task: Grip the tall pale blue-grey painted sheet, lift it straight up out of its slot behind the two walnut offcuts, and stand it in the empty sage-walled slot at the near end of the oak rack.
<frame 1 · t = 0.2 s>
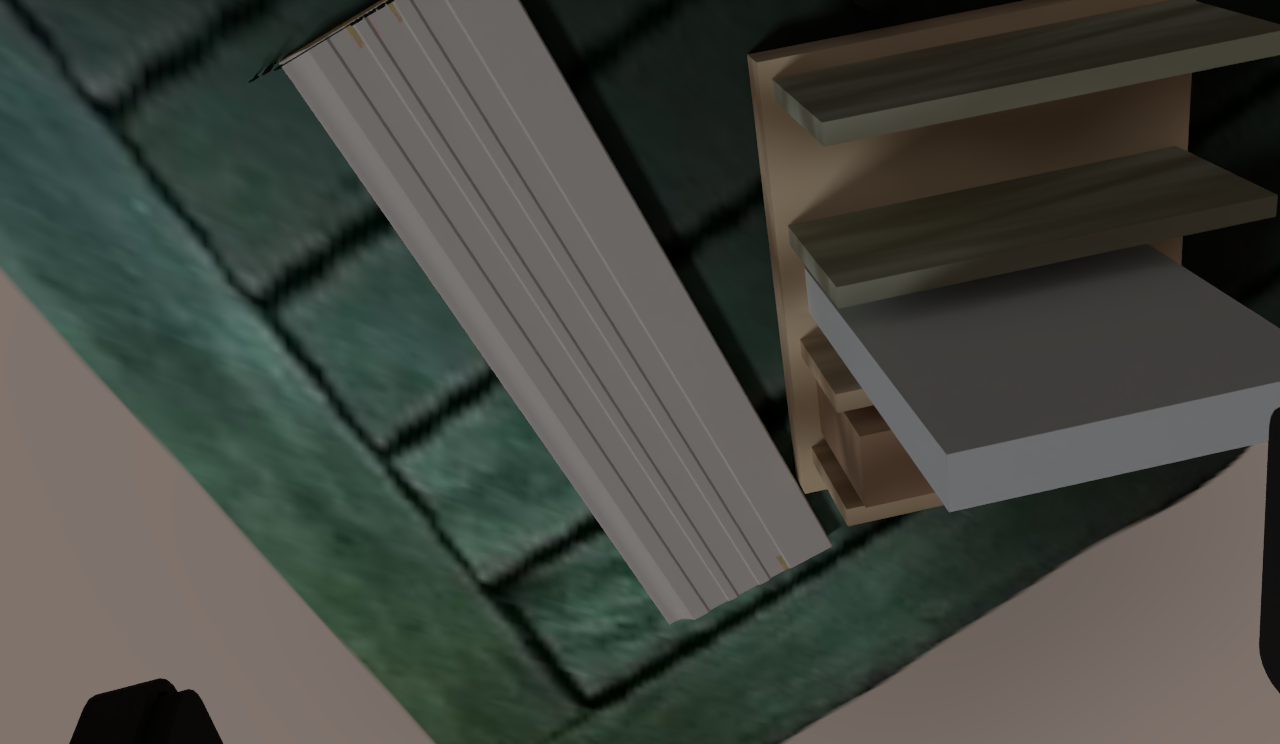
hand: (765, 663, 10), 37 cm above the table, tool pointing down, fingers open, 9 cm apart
baseboard: (572, 329, 49), on the table
rack: (971, 242, 50), on the table
offcut 1: (886, 385, 50), point 1 cm above the table, touching rack
sheet: (950, 260, 48), point 1 cm above the table, touching rack
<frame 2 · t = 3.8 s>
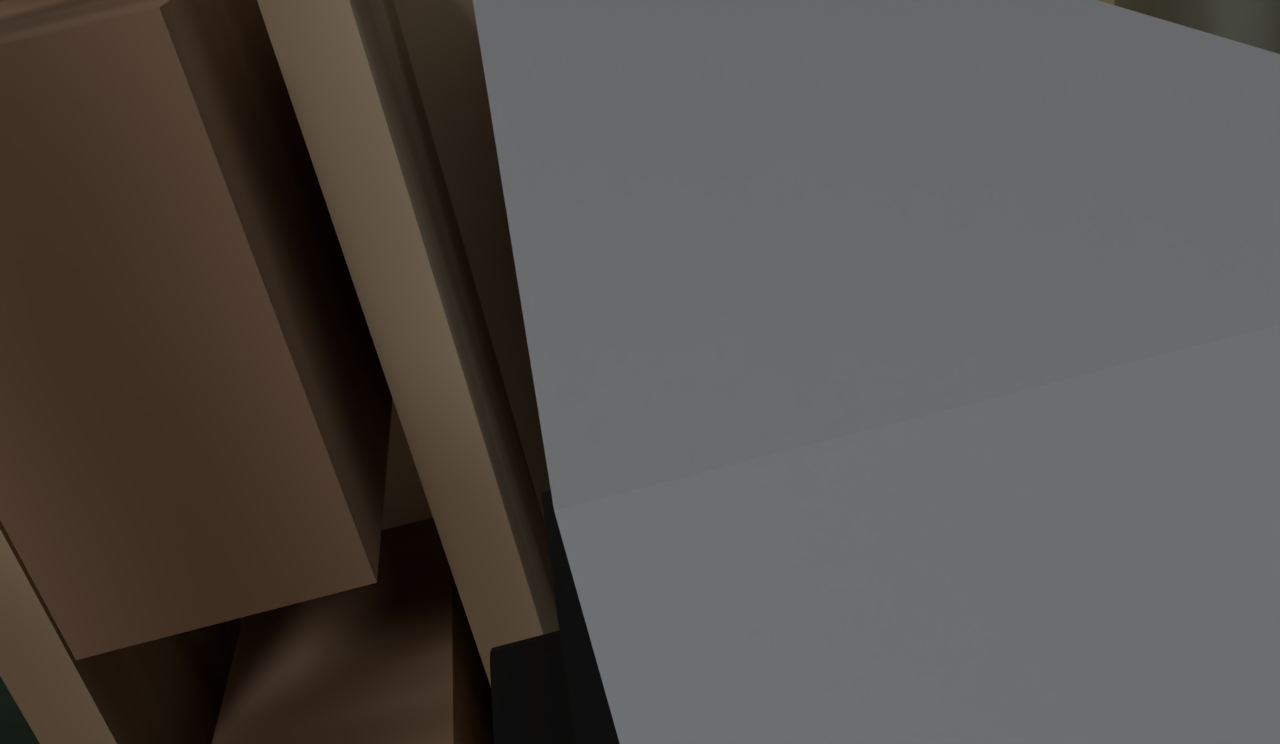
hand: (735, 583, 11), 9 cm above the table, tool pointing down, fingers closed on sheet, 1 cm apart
rack: (623, 342, 20), on the table
offcut 1: (220, 187, 16), point 1 cm above the table, touching rack
sheet: (626, 293, 18), point 2 cm above the table, touching gripper
offcut 2: (407, 678, 20), point 1 cm above the table, touching rack
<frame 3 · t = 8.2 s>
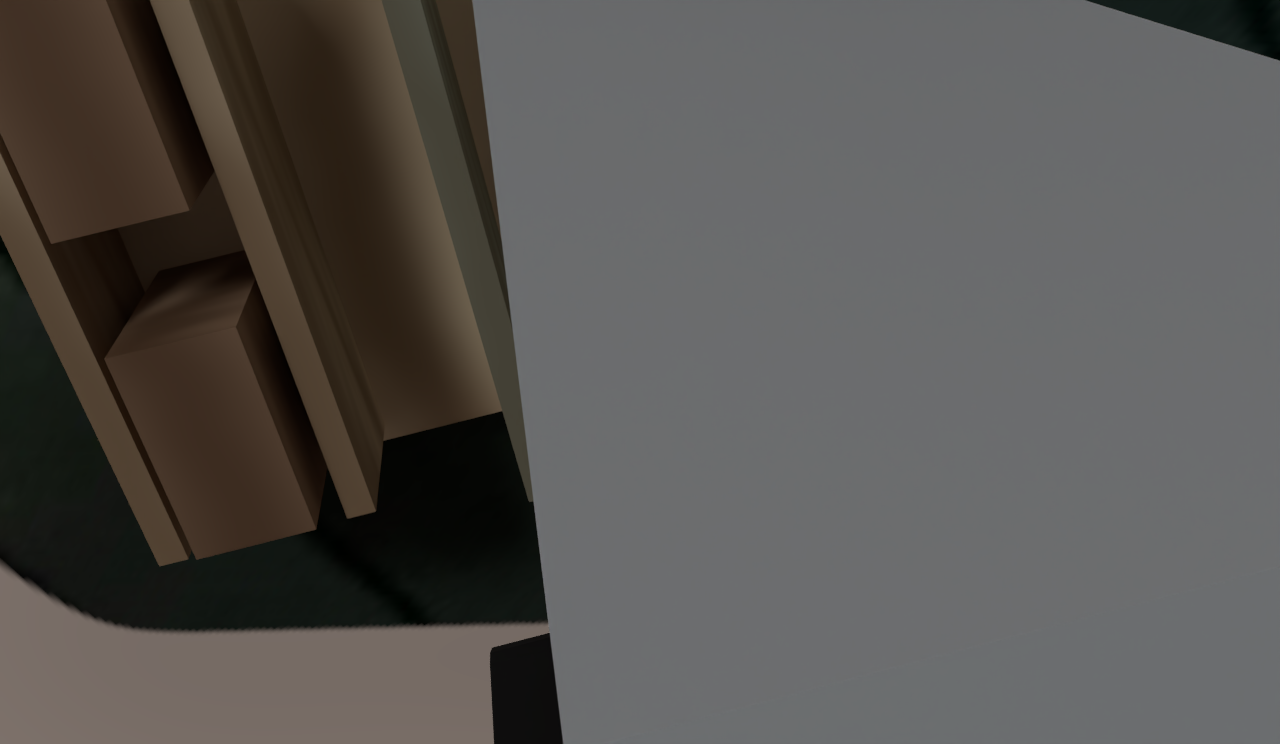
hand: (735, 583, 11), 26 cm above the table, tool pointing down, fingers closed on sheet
rack: (373, 152, 35), on the table
offcut 1: (131, 48, 31), point 1 cm above the table, touching rack
sheet: (633, 304, 17), point 19 cm above the table, touching gripper
offcut 2: (250, 350, 35), point 1 cm above the table, touching rack
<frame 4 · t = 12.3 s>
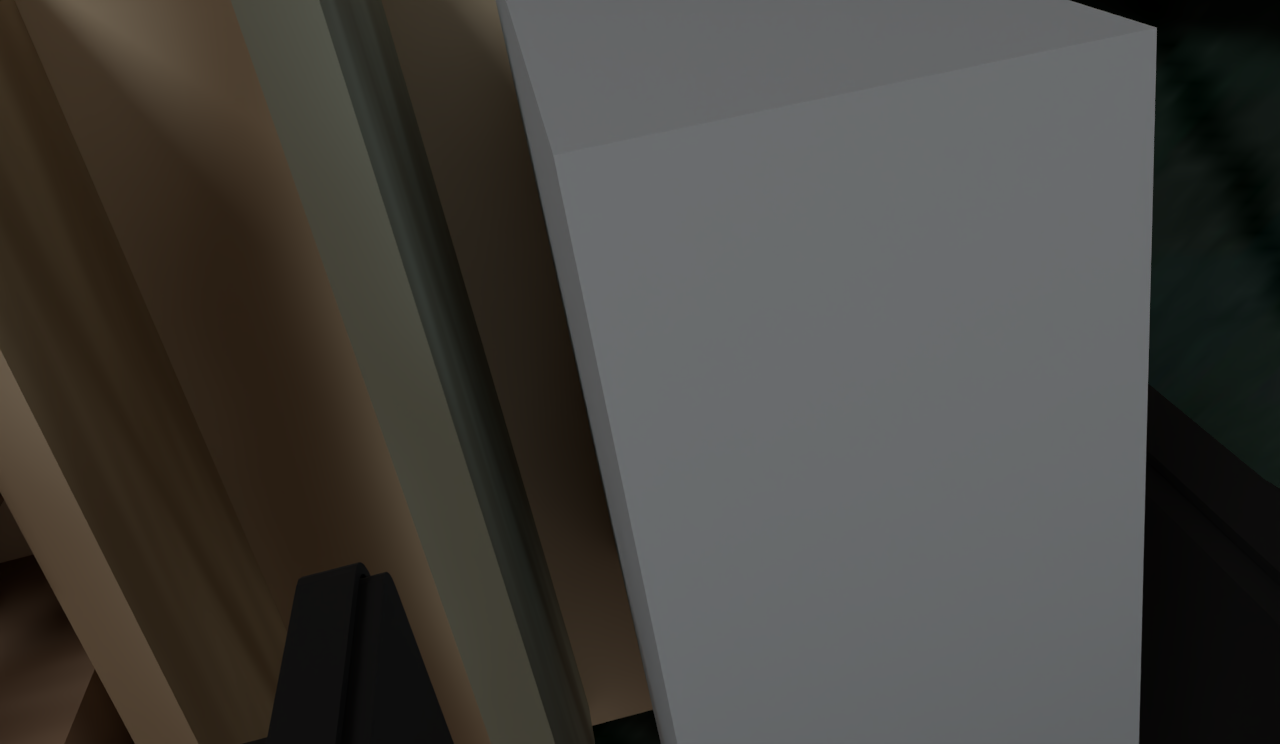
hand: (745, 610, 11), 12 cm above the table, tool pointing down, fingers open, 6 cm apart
rack: (324, 366, 22), on the table
sheet: (611, 250, 20), point 1 cm above the table, touching rack
offcut 2: (130, 676, 22), point 1 cm above the table, touching rack
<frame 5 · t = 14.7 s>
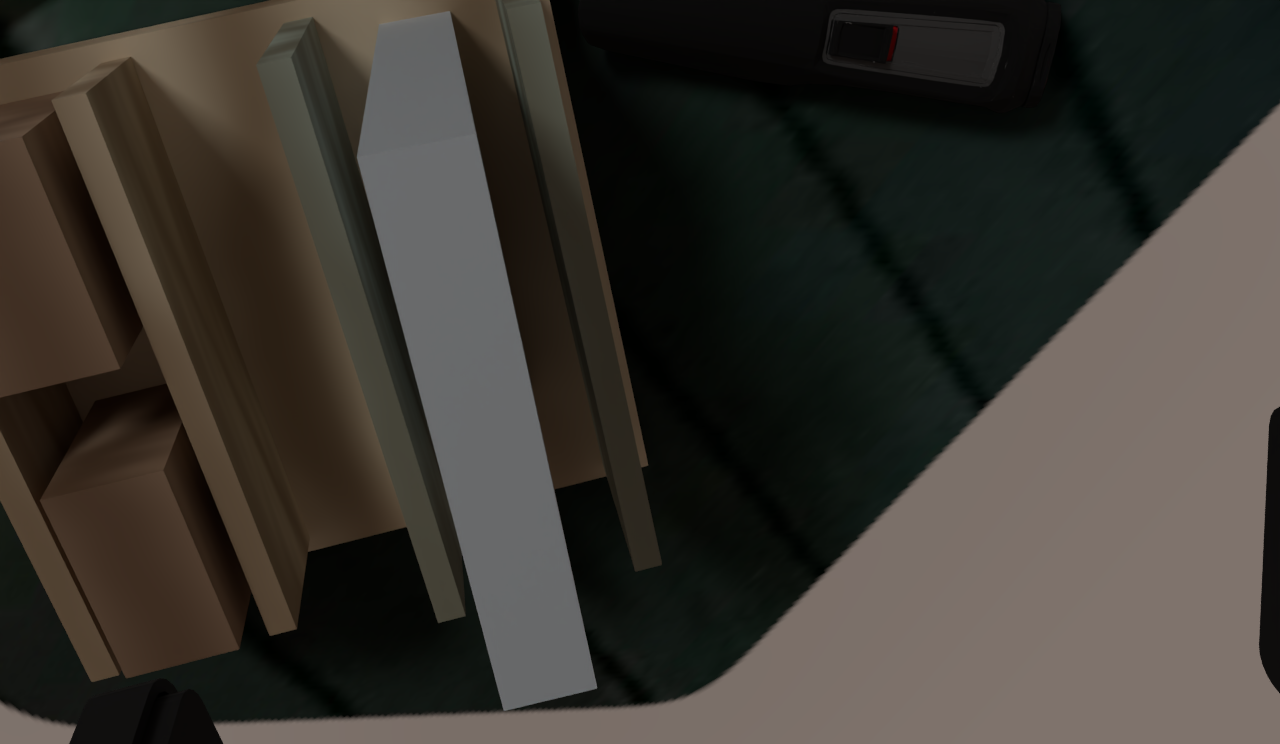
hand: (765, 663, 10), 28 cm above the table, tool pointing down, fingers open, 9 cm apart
rack: (298, 288, 37), on the table
offcut 1: (70, 202, 34), point 1 cm above the table, touching rack
sheet: (461, 220, 36), point 1 cm above the table, touching rack
offcut 2: (182, 471, 38), point 1 cm above the table, touching rack
electric trimmer: (820, 31, 37), on the table
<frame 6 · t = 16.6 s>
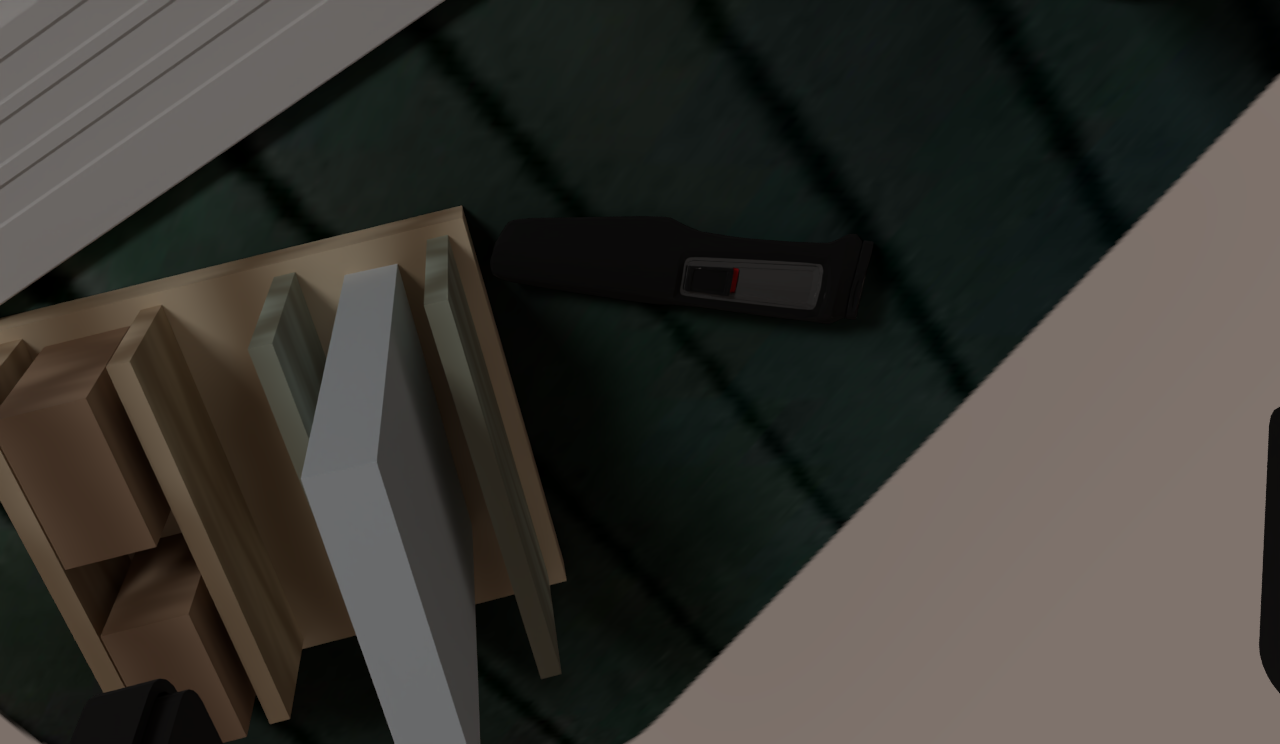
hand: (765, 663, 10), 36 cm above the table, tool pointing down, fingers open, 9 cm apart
baseboard: (96, 53, 42), on the table
rack: (291, 453, 49), on the table
offcut 1: (119, 406, 45), point 1 cm above the table, touching rack
sheet: (412, 408, 47), point 1 cm above the table, touching rack
offcut 2: (205, 592, 49), point 1 cm above the table, touching rack
electric trimmer: (687, 259, 48), on the table
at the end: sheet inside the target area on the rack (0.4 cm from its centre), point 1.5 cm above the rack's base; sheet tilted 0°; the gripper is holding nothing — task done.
